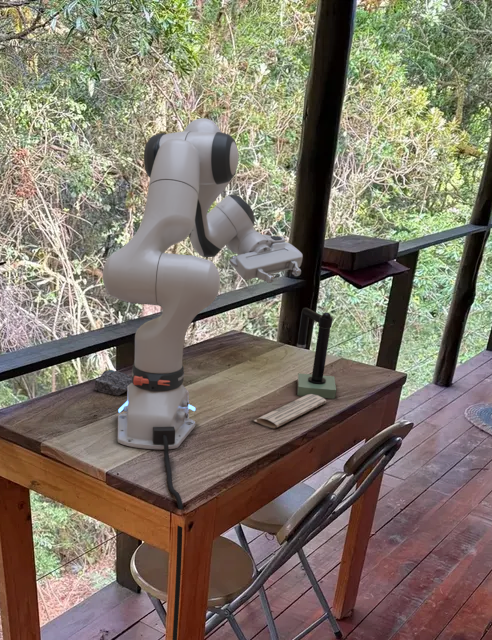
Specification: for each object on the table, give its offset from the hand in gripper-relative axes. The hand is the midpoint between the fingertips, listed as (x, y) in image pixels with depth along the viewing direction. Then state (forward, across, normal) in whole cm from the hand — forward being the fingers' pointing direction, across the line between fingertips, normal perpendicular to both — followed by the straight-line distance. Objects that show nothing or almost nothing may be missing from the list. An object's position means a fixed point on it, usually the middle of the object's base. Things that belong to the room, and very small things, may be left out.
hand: (285, 277), depth 206 cm
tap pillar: (+26, -4, +16) cm, 30 cm away
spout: (+19, -2, +11) cm, 22 cm away
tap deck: (+26, -4, +18) cm, 32 cm away
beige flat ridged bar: (+35, -21, +14) cm, 43 cm away
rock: (+2, -53, +20) cm, 57 cm away
